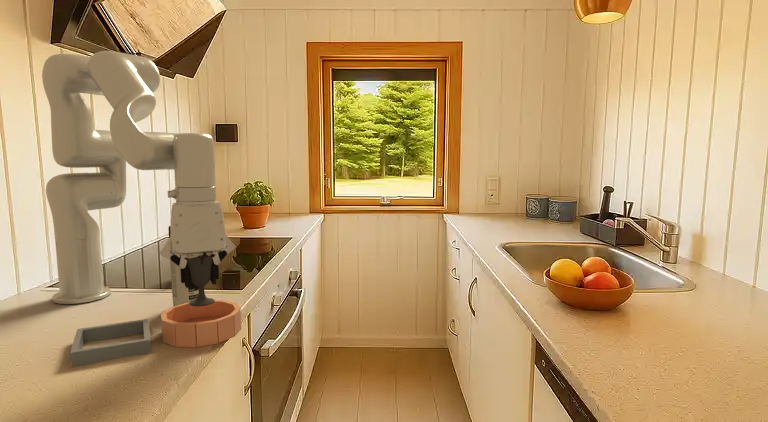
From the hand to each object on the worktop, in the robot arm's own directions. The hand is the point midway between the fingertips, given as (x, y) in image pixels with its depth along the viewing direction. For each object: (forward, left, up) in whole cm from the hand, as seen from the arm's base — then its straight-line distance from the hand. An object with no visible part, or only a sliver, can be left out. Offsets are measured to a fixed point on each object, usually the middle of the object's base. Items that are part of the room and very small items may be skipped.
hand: (200, 283), depth 96 cm
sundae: (0, 0, -4) cm, 4 cm away
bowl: (0, 0, -10) cm, 10 cm away
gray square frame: (0, -16, -10) cm, 19 cm away
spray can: (-18, -1, -11) cm, 21 cm away
